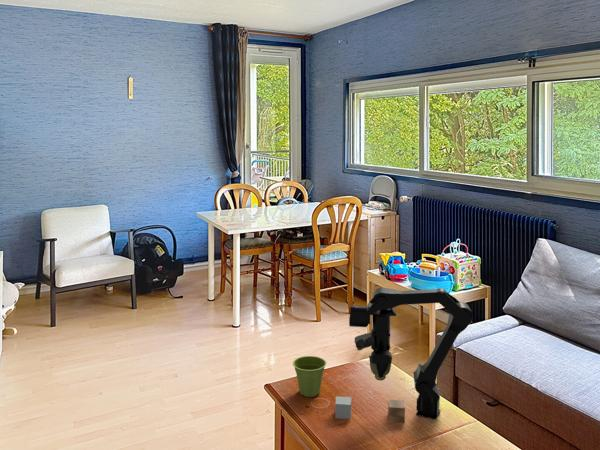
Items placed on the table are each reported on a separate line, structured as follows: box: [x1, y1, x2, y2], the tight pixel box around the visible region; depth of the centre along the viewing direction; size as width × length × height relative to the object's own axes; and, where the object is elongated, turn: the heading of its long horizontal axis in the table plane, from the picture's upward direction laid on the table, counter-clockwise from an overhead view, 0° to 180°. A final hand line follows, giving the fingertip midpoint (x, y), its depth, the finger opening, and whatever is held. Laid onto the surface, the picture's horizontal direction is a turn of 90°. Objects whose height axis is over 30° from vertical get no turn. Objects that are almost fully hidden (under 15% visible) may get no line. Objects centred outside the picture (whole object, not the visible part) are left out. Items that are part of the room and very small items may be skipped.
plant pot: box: [292, 355, 327, 398], centre depth 186 cm, size 12×12×11 cm
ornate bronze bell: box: [368, 354, 393, 381], centre depth 173 cm, size 8×7×8 cm
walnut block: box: [387, 399, 406, 423], centre depth 169 cm, size 5×5×5 cm
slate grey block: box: [334, 396, 352, 420], centre depth 172 cm, size 5×5×5 cm
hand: (380, 373), depth 173 cm, fingers closed on ornate bronze bell, 6 cm apart
